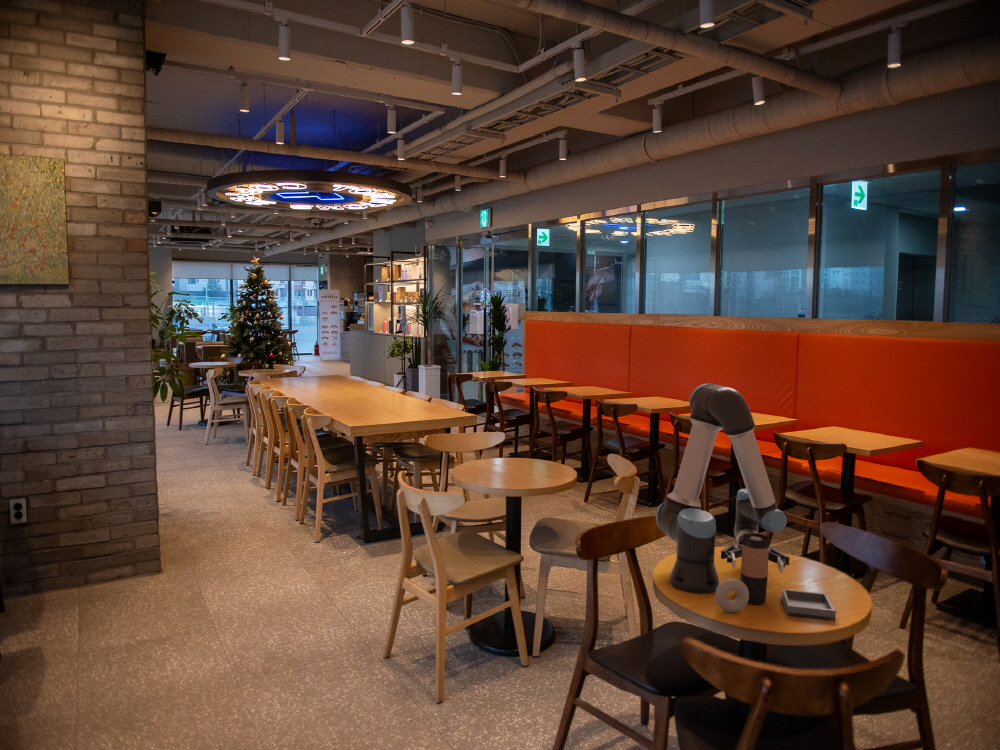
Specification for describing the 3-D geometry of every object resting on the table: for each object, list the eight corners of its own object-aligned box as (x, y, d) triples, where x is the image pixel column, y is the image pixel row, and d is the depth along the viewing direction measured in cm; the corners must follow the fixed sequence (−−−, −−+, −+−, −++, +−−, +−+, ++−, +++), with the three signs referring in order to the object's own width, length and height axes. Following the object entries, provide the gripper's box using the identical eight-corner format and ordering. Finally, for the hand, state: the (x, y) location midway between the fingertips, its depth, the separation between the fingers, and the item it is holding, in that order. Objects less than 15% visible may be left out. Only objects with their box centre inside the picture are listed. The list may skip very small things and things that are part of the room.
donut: (745, 609, 203) (747, 576, 202) (750, 614, 200) (752, 581, 199) (712, 609, 202) (713, 576, 201) (716, 614, 199) (718, 581, 198)
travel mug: (763, 608, 204) (766, 542, 202) (737, 602, 208) (740, 538, 206) (768, 599, 210) (771, 535, 208) (742, 593, 214) (745, 531, 212)
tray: (787, 615, 199) (788, 605, 199) (781, 598, 211) (781, 588, 211) (835, 621, 196) (835, 610, 195) (825, 603, 208) (826, 593, 208)
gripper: (789, 558, 225) (801, 582, 205) (710, 551, 231) (714, 574, 211) (790, 536, 225) (803, 558, 204) (710, 529, 230) (715, 550, 210)
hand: (758, 566), depth 207 cm, fingers open, 13 cm apart
